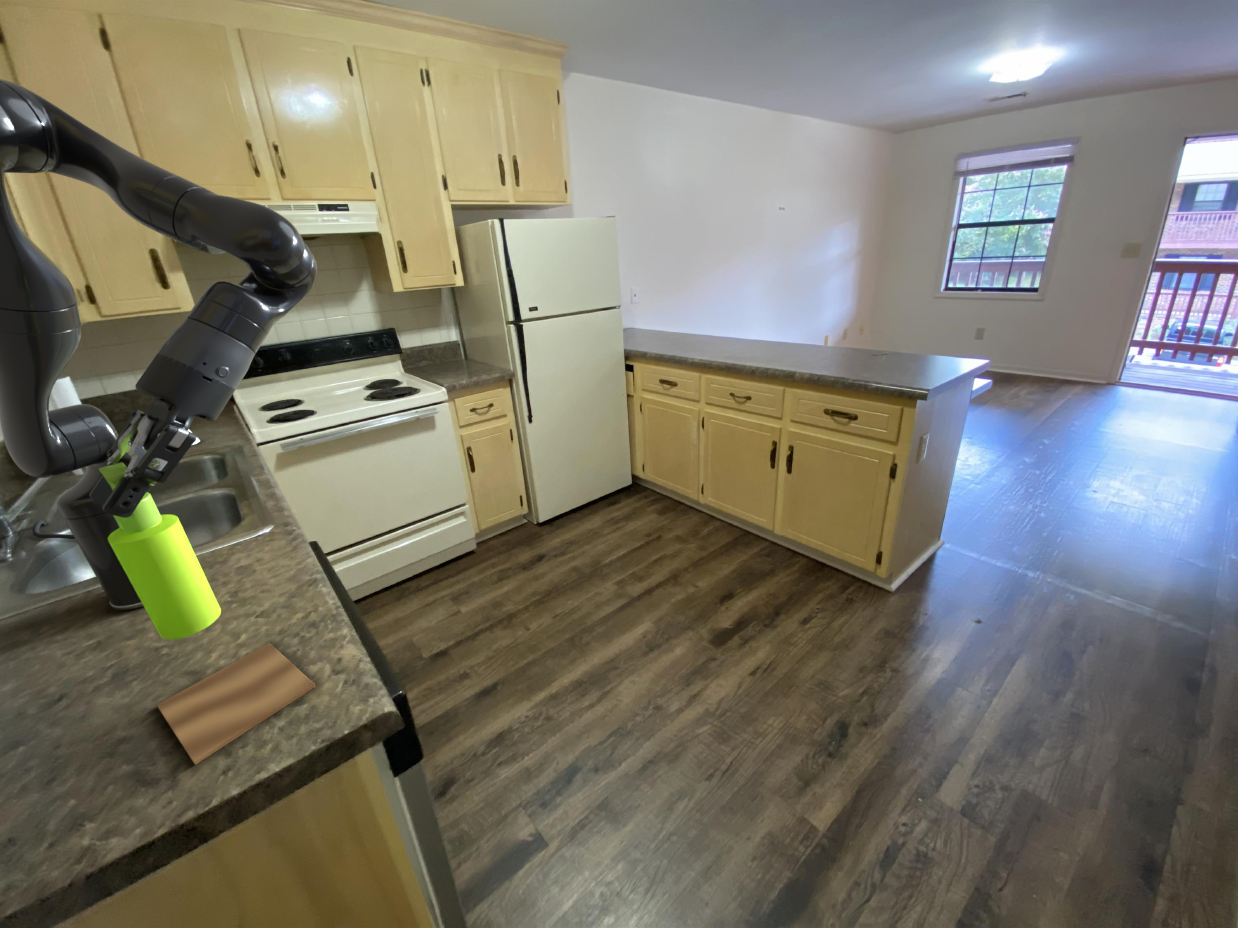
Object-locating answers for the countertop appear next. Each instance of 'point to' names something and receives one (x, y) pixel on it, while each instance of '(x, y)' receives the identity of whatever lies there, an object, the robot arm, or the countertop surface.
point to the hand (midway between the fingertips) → (108, 507)
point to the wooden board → (233, 701)
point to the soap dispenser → (162, 567)
